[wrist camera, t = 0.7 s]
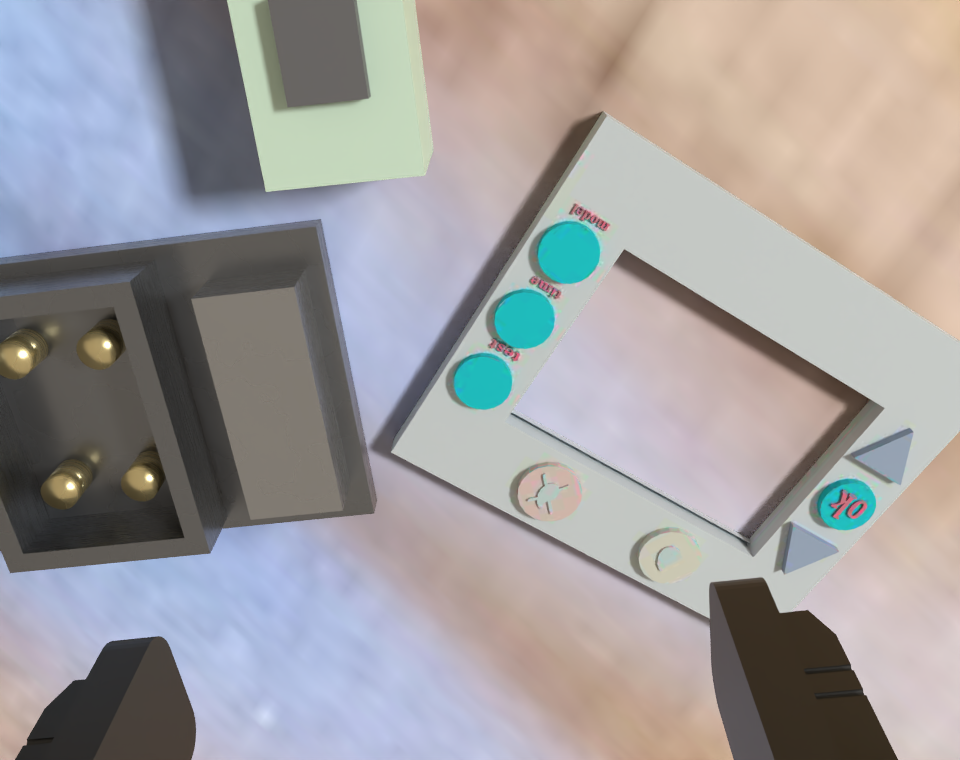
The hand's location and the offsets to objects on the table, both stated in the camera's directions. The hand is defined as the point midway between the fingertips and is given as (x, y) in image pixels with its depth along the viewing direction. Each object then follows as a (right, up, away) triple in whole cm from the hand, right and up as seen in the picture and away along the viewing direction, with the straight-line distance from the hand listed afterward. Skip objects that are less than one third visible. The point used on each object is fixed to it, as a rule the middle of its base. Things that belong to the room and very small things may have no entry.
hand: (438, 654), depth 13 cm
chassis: (-12, +4, +23) cm, 26 cm away
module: (-4, +16, +17) cm, 24 cm away
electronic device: (+9, +3, +23) cm, 25 cm away
